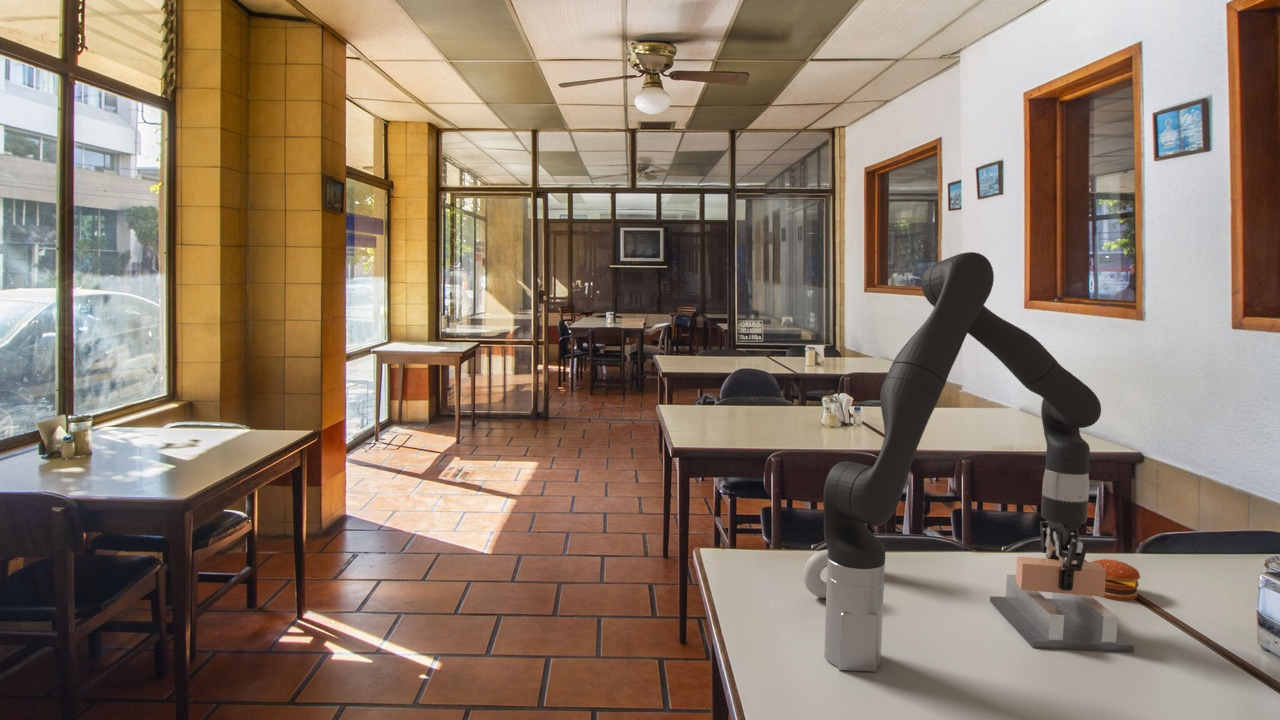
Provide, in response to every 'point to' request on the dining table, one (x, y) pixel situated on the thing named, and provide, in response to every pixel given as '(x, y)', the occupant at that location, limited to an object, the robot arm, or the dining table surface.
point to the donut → (816, 573)
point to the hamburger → (1119, 580)
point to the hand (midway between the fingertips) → (1059, 584)
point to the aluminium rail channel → (1060, 620)
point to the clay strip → (1046, 577)
